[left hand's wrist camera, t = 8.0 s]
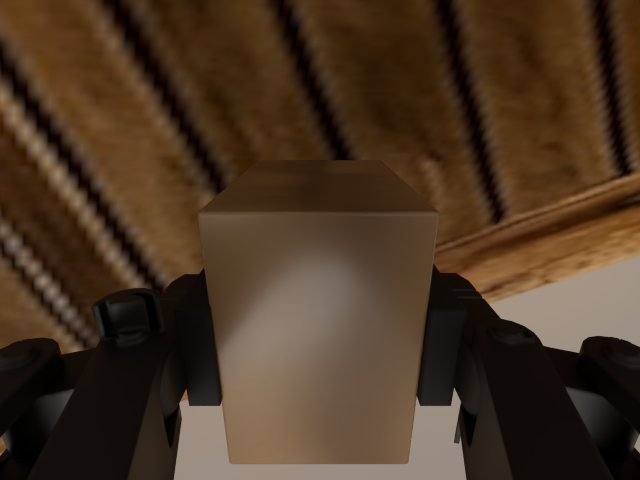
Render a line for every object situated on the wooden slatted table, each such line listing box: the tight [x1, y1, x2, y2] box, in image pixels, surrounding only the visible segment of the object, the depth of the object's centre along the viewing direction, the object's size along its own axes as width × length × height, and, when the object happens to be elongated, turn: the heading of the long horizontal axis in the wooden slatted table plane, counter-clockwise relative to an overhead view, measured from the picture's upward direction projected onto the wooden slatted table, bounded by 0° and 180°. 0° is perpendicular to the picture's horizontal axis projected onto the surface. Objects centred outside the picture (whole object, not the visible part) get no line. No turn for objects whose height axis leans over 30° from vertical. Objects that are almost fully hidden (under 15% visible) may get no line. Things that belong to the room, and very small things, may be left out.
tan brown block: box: [198, 160, 439, 464], centre depth 12 cm, size 5×7×7 cm
